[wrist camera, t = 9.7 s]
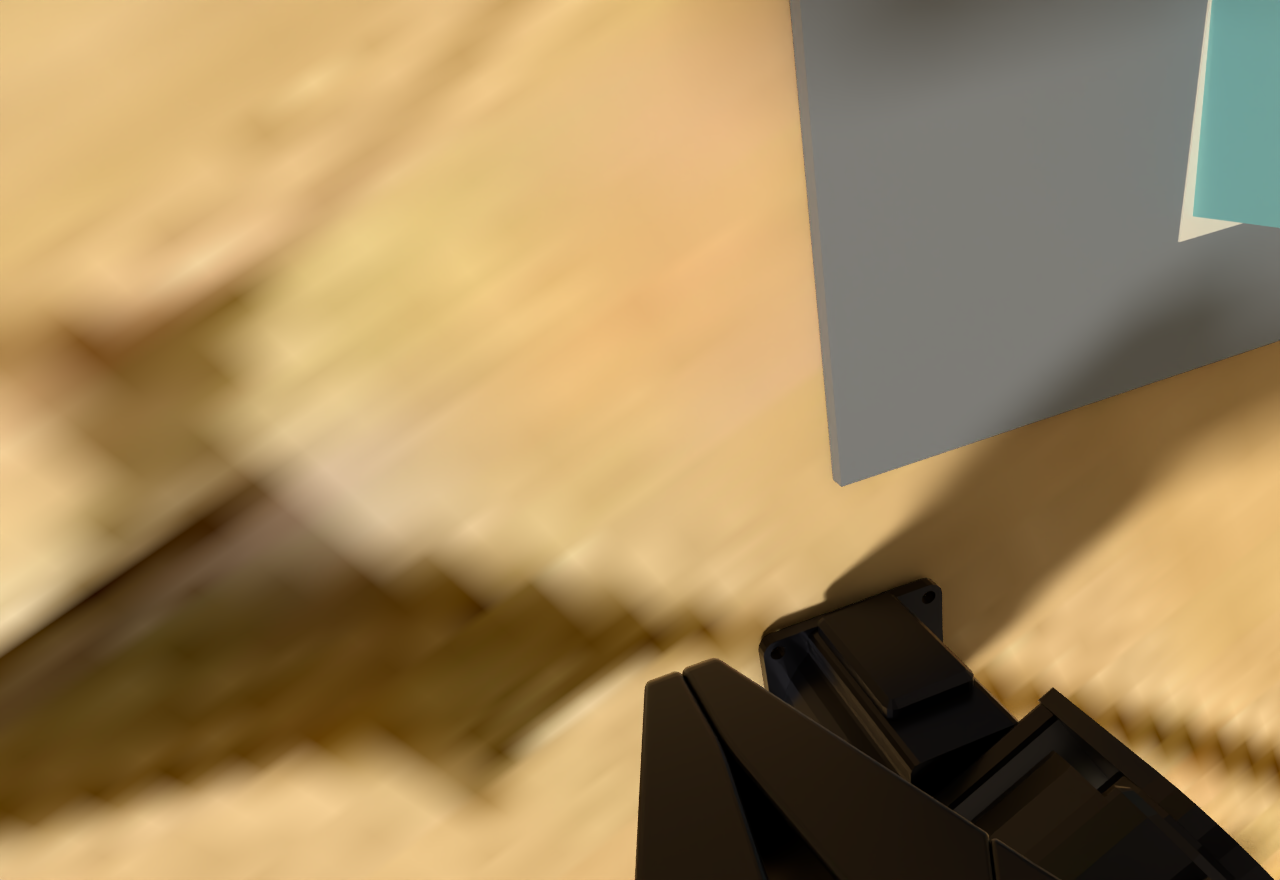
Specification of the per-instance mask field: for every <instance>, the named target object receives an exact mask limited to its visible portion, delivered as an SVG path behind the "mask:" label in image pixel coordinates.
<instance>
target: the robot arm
mask: <svg viewBox="0 0 1280 880" xmlns="http://www.w3.org/2000/svg"><path fill="white" fill-rule="evenodd" d="M925 593H926V594H925ZM924 594H925V595H924ZM923 595H924V596H923ZM776 647H778V649H777V650H775V651H773V649H775V648H776ZM759 656H760V662H761V668H762V675H763V681H764V687H765V689H764V688H763V687H761V686H760V685H758V684H757V683H755V682H754V681H752V680H751V679H749V678H747V677H746V676H744V675H743V674H741V673H740V672H738V671H737V670H735V669H734V668H732V667H730V666H729V665H727V664H726V663H724V662H723V661H721V660H719V659H716V658H711V659H708V660H705V661H702V662H700V663H697V664H694V665H691V666H689V667H686V668H685V669H684V670H683V673H682V674H681V673H679V672H672V673H669V674H667V675H664V676H661V677H658V678H656V679H653V680H650V681H648V682H647V684H646V686H645V693H644V713H643V732H642V752H641V771H640V791H639V810H638V830H637V849H636V869H635V880H1274V879H1273V878H1272V877H1271V876H1270V875H1269V874H1268V873H1267V872H1266V871H1265V870H1264V869H1263V868H1262V867H1261V866H1260V865H1259V864H1258V863H1257V862H1256V861H1255V860H1254V859H1253V858H1252V857H1251V856H1250V855H1249V854H1248V853H1247V852H1246V851H1245V850H1244V849H1243V848H1242V847H1241V846H1240V845H1239V844H1238V843H1237V842H1236V841H1235V840H1234V839H1233V838H1232V837H1231V836H1230V835H1229V834H1227V833H1226V832H1225V831H1224V830H1223V829H1222V828H1221V827H1220V826H1219V825H1218V824H1217V823H1216V822H1215V821H1214V820H1212V819H1211V818H1210V817H1209V816H1208V815H1207V814H1206V813H1205V812H1204V811H1203V810H1201V809H1200V808H1199V807H1198V806H1197V805H1196V804H1195V803H1194V802H1193V801H1191V800H1190V799H1189V798H1188V797H1187V796H1186V795H1185V794H1183V793H1182V792H1181V791H1180V790H1179V789H1178V788H1177V787H1175V786H1174V785H1173V784H1172V783H1171V782H1169V781H1168V780H1167V779H1166V778H1165V777H1163V776H1162V775H1161V774H1160V773H1158V772H1157V771H1156V770H1155V769H1154V768H1152V767H1151V766H1150V765H1149V764H1147V763H1146V762H1145V761H1144V760H1142V759H1141V758H1140V757H1139V756H1137V755H1136V754H1135V753H1134V752H1132V751H1131V750H1130V749H1129V748H1128V747H1126V746H1125V745H1124V744H1123V743H1121V742H1120V741H1119V740H1118V739H1116V738H1115V737H1114V736H1113V735H1111V734H1110V733H1109V732H1108V731H1106V730H1105V729H1104V728H1103V727H1102V726H1100V725H1099V724H1098V723H1097V722H1095V721H1094V720H1093V719H1092V718H1090V717H1089V716H1088V715H1087V714H1085V713H1084V712H1083V711H1082V710H1080V709H1079V708H1078V707H1077V706H1076V705H1074V704H1073V703H1072V702H1071V701H1069V700H1068V699H1067V698H1066V697H1064V696H1063V695H1062V694H1061V693H1059V692H1058V691H1057V690H1056V689H1054V688H1051V689H1050V690H1049V691H1048V692H1047V693H1046V694H1044V695H1043V696H1042V697H1041V698H1040V699H1039V700H1038V701H1039V702H1040V704H1039V705H1038V706H1036V707H1035V708H1034V709H1033V710H1032V711H1031V712H1029V713H1028V714H1027V715H1026V716H1025V717H1024V718H1023V719H1021V720H1020V721H1018V720H1017V719H1016V718H1015V717H1014V716H1013V715H1012V714H1011V713H1010V712H1009V711H1008V710H1007V709H1006V708H1005V707H1004V706H1003V705H1002V704H1001V703H1000V702H999V701H998V700H997V699H996V698H995V697H994V696H993V695H992V694H991V693H990V692H989V691H988V690H987V689H986V688H985V687H984V686H983V685H982V684H981V683H980V682H979V681H978V680H977V679H976V678H975V677H974V674H973V673H972V671H971V670H970V669H969V668H968V667H967V666H966V665H965V664H964V663H963V662H962V661H961V660H960V659H959V658H958V657H957V656H956V655H955V654H954V653H953V652H952V651H951V650H950V649H949V648H948V647H947V646H946V645H945V644H944V643H943V630H942V591H941V588H940V587H939V586H938V585H937V584H935V583H934V582H933V581H932V580H931V579H928V578H923V579H919V580H917V581H914V582H911V583H908V584H906V585H903V586H900V587H897V588H895V589H892V590H889V591H886V592H884V593H881V594H878V595H876V596H873V597H870V598H867V599H865V600H862V601H859V602H856V603H854V604H851V605H848V606H845V607H843V608H840V609H837V610H834V611H832V612H829V613H826V614H823V615H821V616H818V617H815V618H812V619H810V620H807V621H804V622H801V623H799V624H796V625H793V626H790V627H788V628H785V629H782V630H779V631H777V632H774V633H771V634H769V635H767V636H766V637H765V638H764V639H763V640H762V641H761V643H760V645H759Z"/></svg>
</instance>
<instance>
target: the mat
mask: <svg viewBox="0 0 1280 880" xmlns="http://www.w3.org/2000/svg"><path fill="white" fill-rule="evenodd" d="M1211 5H1212V0H790V11H791V22H792V33H793V44H794V55H795V66H796V77H797V88H798V99H799V110H800V121H801V132H802V143H803V154H804V165H805V176H806V187H807V198H808V209H809V220H810V231H811V242H812V253H813V264H814V275H815V286H816V297H817V308H818V319H819V330H820V341H821V352H822V363H823V374H824V385H825V396H826V407H827V418H828V429H829V440H830V451H831V462H832V473H833V480H834V481H835V482H837V483H838V484H839V485H840V486H841V487H842V486H845V485H848V484H851V483H854V482H857V481H860V480H863V479H866V478H869V477H872V476H875V475H878V474H881V473H884V472H887V471H890V470H893V469H896V468H899V467H902V466H905V465H908V464H911V463H914V462H917V461H920V460H923V459H926V458H929V457H932V456H935V455H938V454H941V453H944V452H947V451H950V450H953V449H956V448H959V447H962V446H965V445H968V444H971V443H974V442H977V441H980V440H983V439H986V438H989V437H992V436H995V435H998V434H1001V433H1004V432H1007V431H1010V430H1013V429H1016V428H1019V427H1022V426H1025V425H1028V424H1031V423H1034V422H1037V421H1040V420H1043V419H1046V418H1049V417H1052V416H1055V415H1058V414H1061V413H1064V412H1067V411H1070V410H1073V409H1076V408H1079V407H1082V406H1085V405H1088V404H1091V403H1094V402H1097V401H1100V400H1103V399H1106V398H1109V397H1112V396H1115V395H1118V394H1121V393H1124V392H1127V391H1130V390H1133V389H1136V388H1139V387H1142V386H1145V385H1148V384H1151V383H1154V382H1157V381H1160V380H1163V379H1166V378H1169V377H1172V376H1175V375H1178V374H1181V373H1184V372H1187V371H1190V370H1193V369H1196V368H1199V367H1202V366H1205V365H1208V364H1211V363H1214V362H1217V361H1220V360H1223V359H1226V358H1229V357H1232V356H1235V355H1238V354H1241V353H1244V352H1247V351H1250V350H1253V349H1256V348H1259V347H1262V346H1265V345H1268V344H1271V343H1274V342H1277V341H1280V228H1276V227H1269V226H1261V225H1254V224H1246V223H1239V222H1231V221H1224V220H1216V219H1209V218H1201V217H1194V216H1193V207H1194V196H1195V185H1196V174H1197V162H1198V151H1199V140H1200V129H1201V117H1202V106H1203V95H1204V84H1205V72H1206V61H1207V50H1208V39H1209V27H1210V16H1211Z"/></svg>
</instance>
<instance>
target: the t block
mask: <svg viewBox="0 0 1280 880" xmlns="http://www.w3.org/2000/svg"><path fill="white" fill-rule="evenodd" d="M1193 216H1194V217H1201V218H1209V219H1216V220H1224V221H1231V222H1239V223H1246V224H1254V225H1261V226H1269V227H1276V228H1280V0H1212V5H1211V16H1210V27H1209V39H1208V50H1207V61H1206V72H1205V84H1204V95H1203V106H1202V117H1201V129H1200V140H1199V151H1198V162H1197V174H1196V185H1195V196H1194V207H1193Z"/></svg>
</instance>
